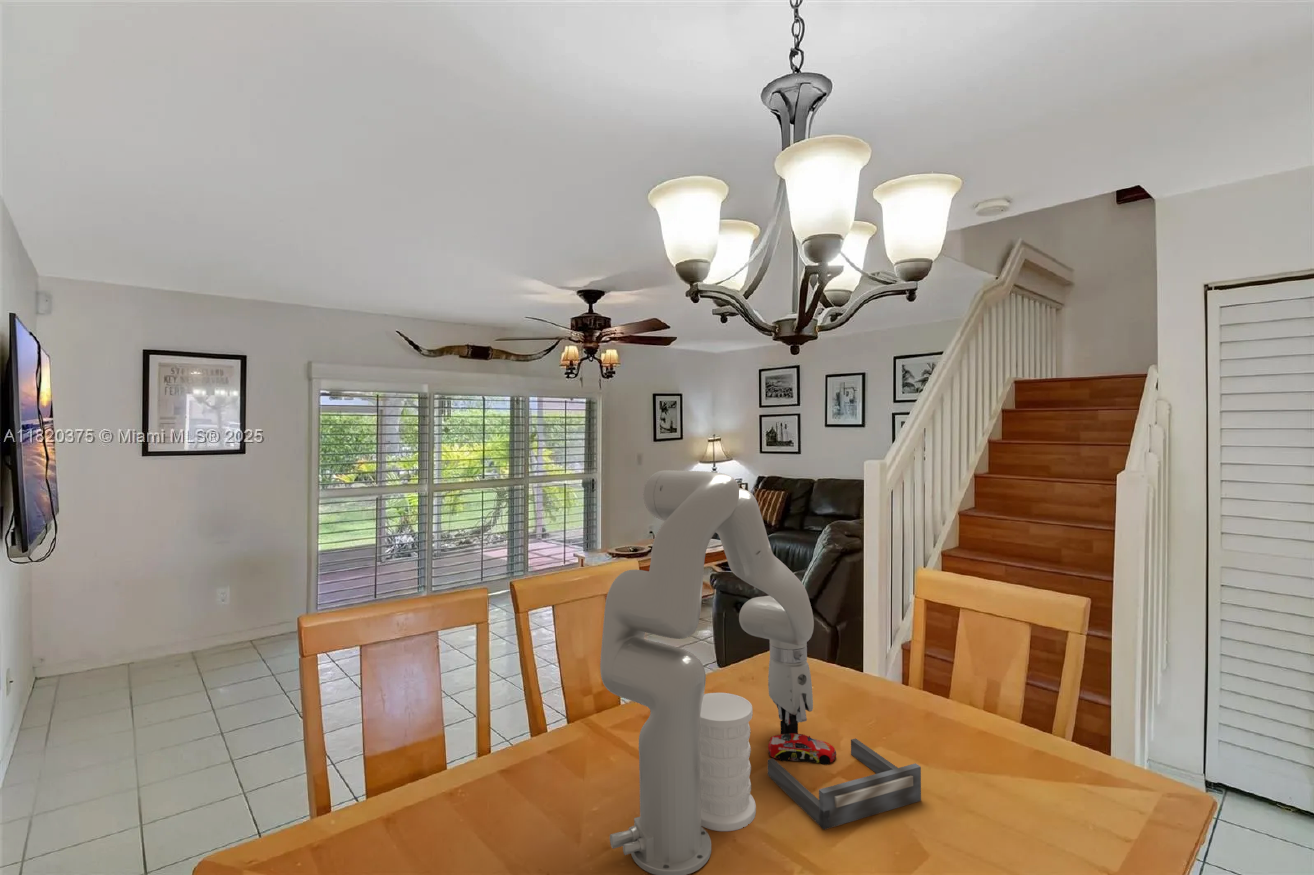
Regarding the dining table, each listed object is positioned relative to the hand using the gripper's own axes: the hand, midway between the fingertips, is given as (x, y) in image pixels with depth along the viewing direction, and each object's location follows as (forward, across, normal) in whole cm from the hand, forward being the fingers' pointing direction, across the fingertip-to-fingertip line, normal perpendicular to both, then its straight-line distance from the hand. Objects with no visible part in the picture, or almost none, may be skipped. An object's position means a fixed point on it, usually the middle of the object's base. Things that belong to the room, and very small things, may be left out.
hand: (789, 740), depth 129 cm
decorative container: (+1, -14, +23) cm, 27 cm away
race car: (+1, -5, 0) cm, 5 cm away
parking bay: (+1, -16, 0) cm, 16 cm away
